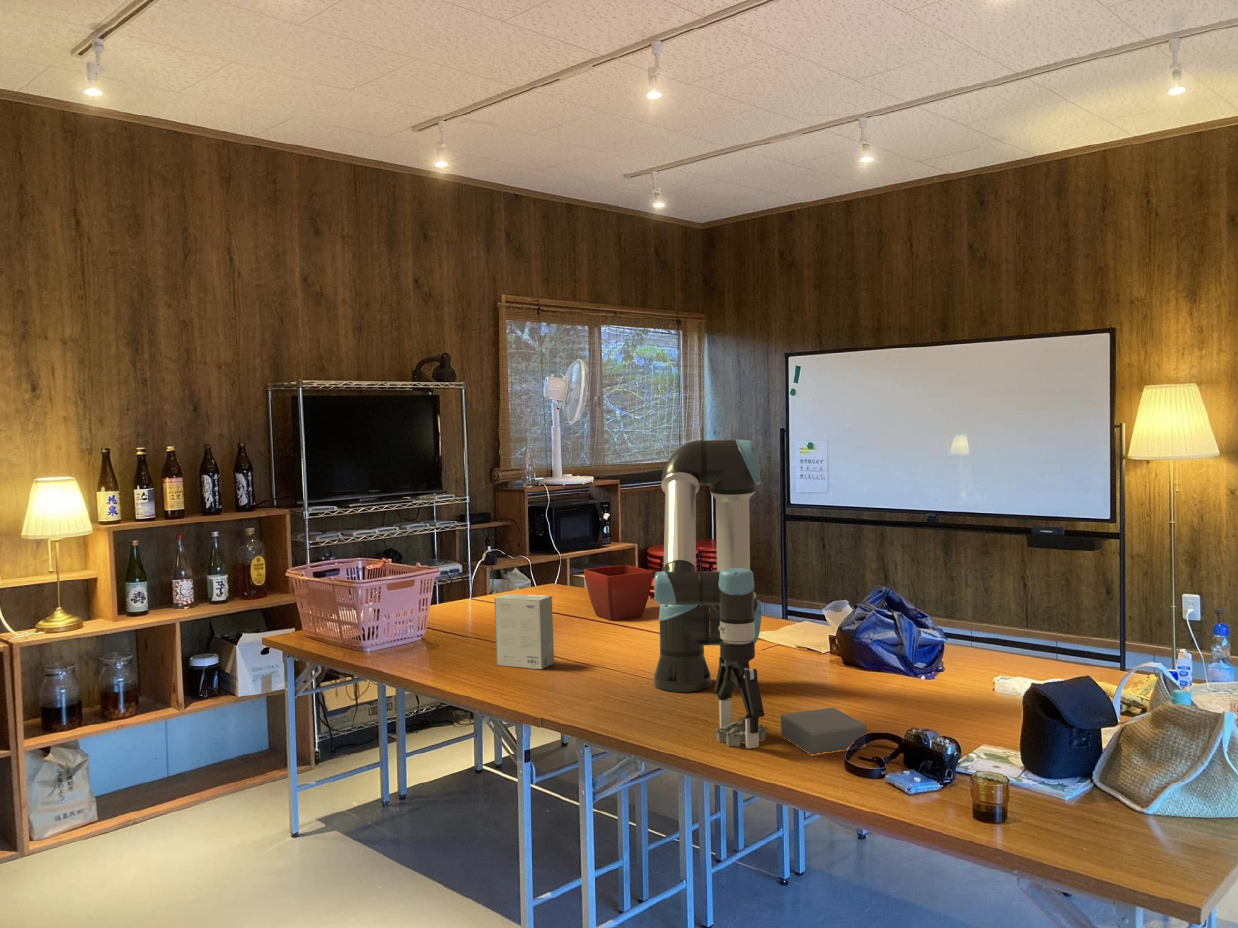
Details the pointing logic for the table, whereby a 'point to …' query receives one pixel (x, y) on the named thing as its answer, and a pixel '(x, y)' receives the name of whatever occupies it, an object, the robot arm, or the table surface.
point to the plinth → (821, 730)
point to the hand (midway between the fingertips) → (738, 737)
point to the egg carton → (737, 733)
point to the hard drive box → (524, 631)
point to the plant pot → (618, 591)
